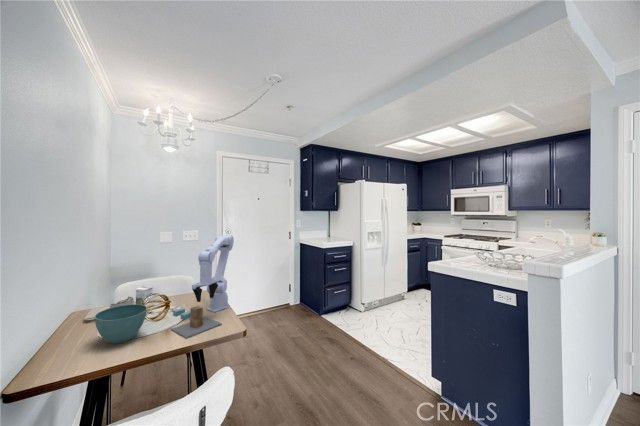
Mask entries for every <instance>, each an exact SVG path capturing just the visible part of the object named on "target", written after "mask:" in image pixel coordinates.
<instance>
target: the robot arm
mask: <svg viewBox="0 0 640 426" xmlns="http://www.w3.org/2000/svg"><path fill="white" fill-rule="evenodd" d="M234 239H235V238H234V236H233V235H221V234H217V235H216V236H215V238H214V242H213V244H212V243H211V244H210V245H208V247H207V248H206V249H205V250H204V251H203V250H202V251H200V252H199V254H198V257H197V258H198V259H197V260H198V262H199V263H198V265H199V282H196V283H193V284H191V289H192V292H193V293H194V296H195V299H196V300H195V301H196V302H197V303H200V302H201V301H202V300H201V299H202V293H203V287H206V291H207V293H208V295H209V307H206V310H208V311H210V312H214V313H215V312H219V311H221V310H225V309H228V308H229V305H228V304H229V302H228V301H229V300H228V299H229V296H228V293H227V292H226V291H227V289H228V281H227V279H226V278H225V277H224V275H225V271H226V268H227V263H228V257H229V254H230V251H232V250H233V246H234ZM218 252H220V253H219V257H218V262H217V265H216V270H215V273H214V276H212V275H213V262H214V260H215V258H216V255H217V253H218Z"/></svg>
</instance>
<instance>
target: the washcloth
mask: <svg viewBox="0 0 640 426" xmlns="http://www.w3.org/2000/svg"><path fill="white" fill-rule="evenodd" d="M109 308H110V305H109V306H104V307H102V306H101V307H94V308H91V309H89V311H88V312H87V314H86V315H85V317H83V320H82V321H83V322H82V323H83V324H86V323H87V324H88V323H95V315H96V314H97V313H99V312H101V311H103V310H106V309H109Z"/></svg>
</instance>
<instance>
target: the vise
mask: <svg viewBox="0 0 640 426" xmlns="http://www.w3.org/2000/svg"><path fill="white" fill-rule="evenodd" d="M169 311H172V316H174V317H178V316H180V319H181V320H182V319H183V320H182V321H185V320H188V319H190V310H189V311H186V308H184V307H180V308H178V307H177V306H175V307H171V308H169Z"/></svg>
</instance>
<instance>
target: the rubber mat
mask: <svg viewBox="0 0 640 426" xmlns="http://www.w3.org/2000/svg"><path fill="white" fill-rule="evenodd" d="M220 326H222V322H219V321H216V320H214V319H212V318H209V317H207V316H205V317H203V325H202V326H200V327H197V328H193V327H190V321H189V322H187V323H184V324H181V325H178V326H175V327H172V328H170V331H172V332H174V333H175V334H177V335H179V336H181V337H183V338H184V339H190V338H191V337H194V336H196V335H200V334H201V333H204V332H207V331H210V330H212V329H214V328H217V327H220Z"/></svg>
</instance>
